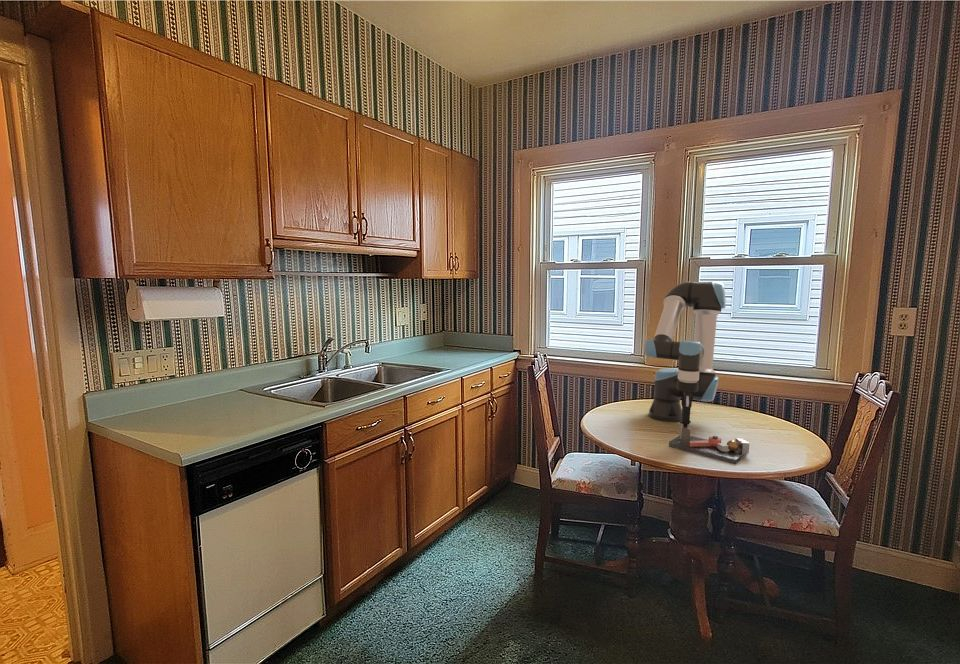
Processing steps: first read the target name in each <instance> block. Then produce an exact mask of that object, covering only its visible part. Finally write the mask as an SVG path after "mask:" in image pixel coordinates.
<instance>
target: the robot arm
mask: <svg viewBox="0 0 960 664" xmlns="http://www.w3.org/2000/svg"><path fill="white" fill-rule="evenodd" d="M726 303H727V302H726V291H725V286H724V284H723V283H722V282H717V281H684V282H680V283H679V284H677V285H675V286H673V287H672V288H671V289H670V290H668V292H667V293H666V295H664V299H663V309H662V312H661V316H660V318H659V322H658V325H657V327H656V330H655V334H654V337H653V338H652V339H647V340H646V341H645V345H644V353H645V356H646V357H648V358H655V359H662V360H664V359H666V360H676V361H678V362H677V363H678V367H676V368H675V367H674V368H673V367H669V368H660V369H658V370H656V372H655V374H654V383H653V384H654V387H653V389H654V390H653V400H652V402H651V405H650V408H649V410H648V416H649V417H650V418H651V419H654V420H657V421H661V422H665V423H666V422H668V423H676V422H677V423H678V422H679V424H680V425H681V426H680V433H681V432H682V427H689V428H690V424H691V423H692V422H691V410H692V409H691V408H692V403H693V400H694V401H701V402H712V401H714V400H715V398H716V397H715V396H716V394H717V389H718V388H719V380H720V377H718V376H716V375H717V374H716V371H715V370H714V369H713V367H714V366H713V363H714V353H715V343H716V342H715V341H716V330H717V321H718V320H717V319H718V316H719V315H720V314H721V313H722V309H726ZM686 307H687V308H692V311H693V313H694V314H695V325H694V333H693V334H694V335H693V339H692V340H689V339H688V340H687V339H686V340H685V339H684V340H681V341H674V338H675V334H676V332H677V327H678V324H679V320H680V317H681V313H682V311H683V310H684V309H685V308H686Z"/></svg>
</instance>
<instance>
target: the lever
mask: <svg viewBox="0 0 960 664" xmlns="http://www.w3.org/2000/svg"><path fill="white" fill-rule="evenodd" d="M691 431H692V428H691V427H690V426H689V427H682V432H681V431H680V435H681V446H683V447H693V446H713V447H717V448H718V449H719V450H721V451H728V445H726V444H727V443H725V442H722V438H720V437H719V436H717V435H712V436H709V437H708V440H703V441H690V435H691V436H692V432H691Z"/></svg>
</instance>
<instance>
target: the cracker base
mask: <svg viewBox="0 0 960 664" xmlns="http://www.w3.org/2000/svg"><path fill="white" fill-rule="evenodd" d="M703 440H709V438H708V439H707V438H703V437H699V436H695V435H692V434H691V435H690V441H703ZM725 444H726V445H728V451H721V450H719V449H718V448H717V447H713V446H693V447H683V446H681V434H679V435H678V436H676V437H674V438H672V439H671V440H670V441H669V442H668V446H669V447H671V448H674V449H679V450H682V451H686V452H690V453H693V454H697V455H700V456H704V457H708V458H712V459H715V460H719V461H723V462H726V463H730V464H733V465H737V464H738V462H739V461H741V460H742V458H744V457H745V456H746V455H747V454H749V451H750V442H749V441H747V440H745V439H743V437H740V438H739V437H736V438H735V439H734V440H733V439H731V440H728V441H727V442H726V443H725Z"/></svg>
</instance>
